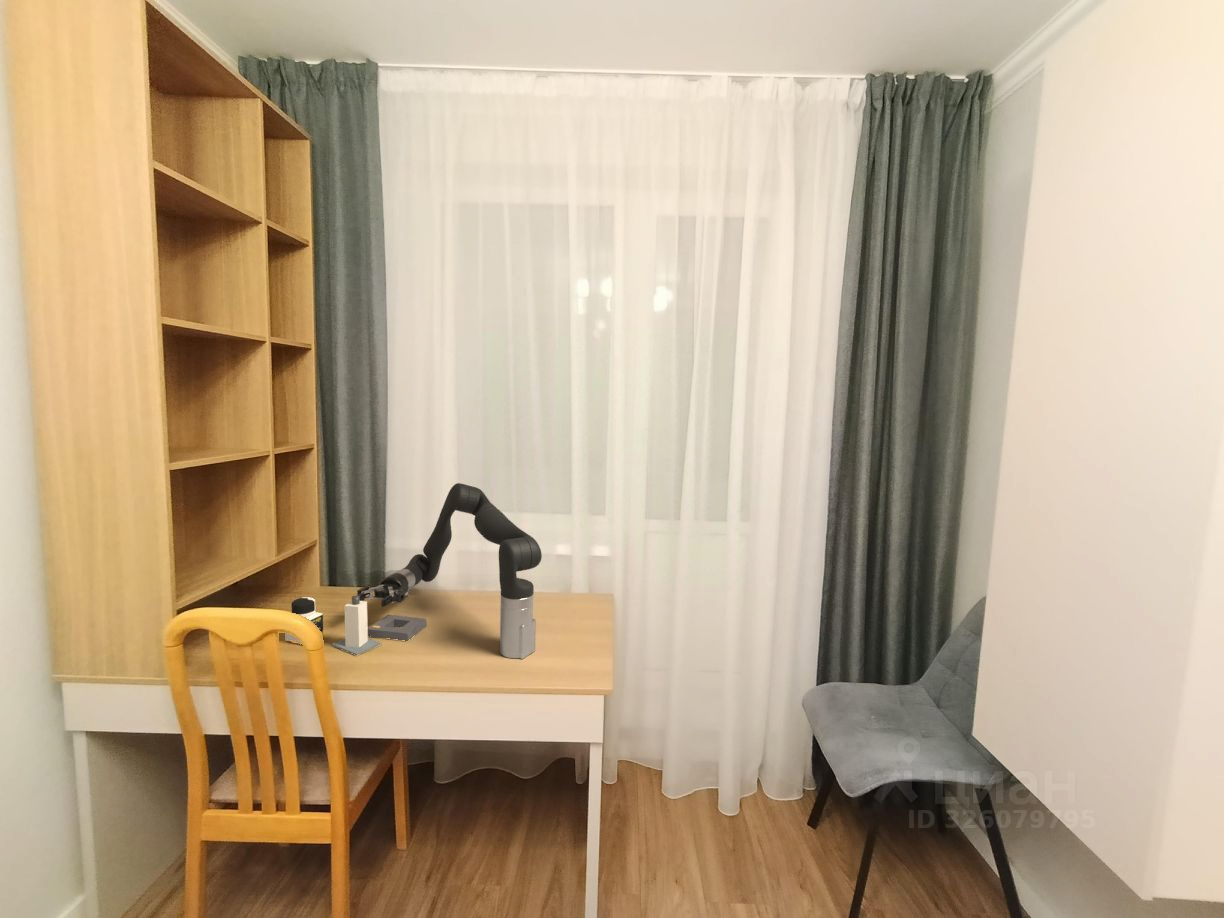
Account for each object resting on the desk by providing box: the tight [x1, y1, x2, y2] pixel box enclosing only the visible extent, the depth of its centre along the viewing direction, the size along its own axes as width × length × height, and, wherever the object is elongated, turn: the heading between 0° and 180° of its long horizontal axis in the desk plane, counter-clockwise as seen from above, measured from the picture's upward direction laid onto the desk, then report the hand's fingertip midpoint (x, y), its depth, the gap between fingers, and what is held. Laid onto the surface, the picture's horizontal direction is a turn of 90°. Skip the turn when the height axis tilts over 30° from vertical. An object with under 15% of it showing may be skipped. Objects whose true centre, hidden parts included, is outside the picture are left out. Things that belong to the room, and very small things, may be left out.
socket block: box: [368, 614, 427, 642], centre depth 169 cm, size 13×11×3 cm
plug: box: [344, 595, 369, 648], centre depth 159 cm, size 4×4×14 cm
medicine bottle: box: [284, 596, 324, 646], centre depth 162 cm, size 7×7×12 cm
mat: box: [331, 637, 382, 656], centre depth 159 cm, size 11×8×1 cm
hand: (369, 602), depth 164 cm, fingers open, 8 cm apart
